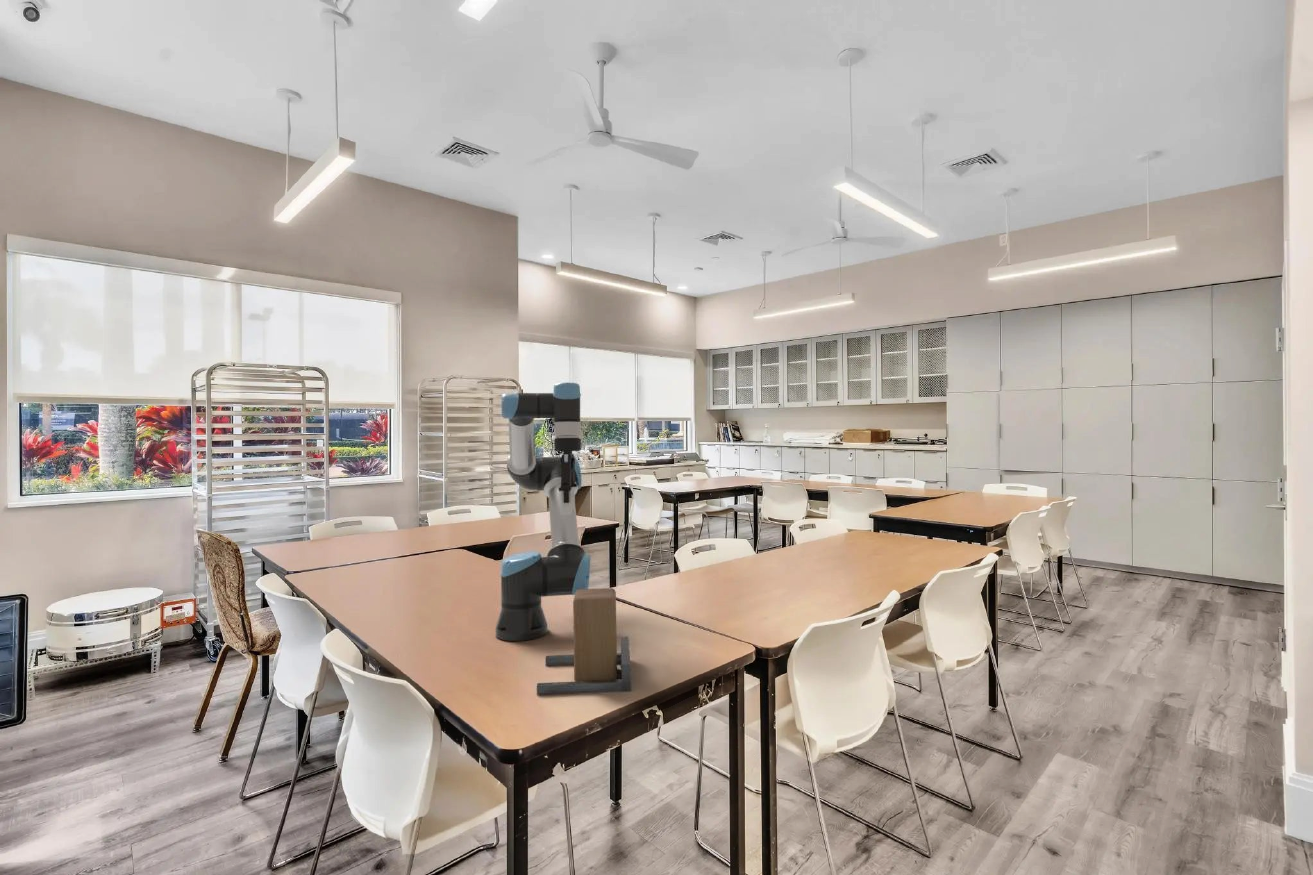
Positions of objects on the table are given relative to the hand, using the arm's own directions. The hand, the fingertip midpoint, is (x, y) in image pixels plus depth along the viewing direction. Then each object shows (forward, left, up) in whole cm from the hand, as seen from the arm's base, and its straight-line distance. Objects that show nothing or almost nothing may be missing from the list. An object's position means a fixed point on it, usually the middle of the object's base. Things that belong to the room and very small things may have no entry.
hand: (568, 512), depth 172 cm
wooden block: (+8, -26, -37) cm, 46 cm away
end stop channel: (+5, -26, -37) cm, 45 cm away
